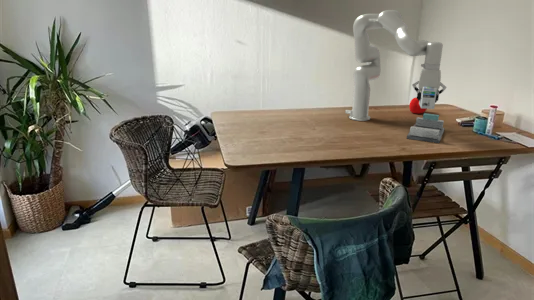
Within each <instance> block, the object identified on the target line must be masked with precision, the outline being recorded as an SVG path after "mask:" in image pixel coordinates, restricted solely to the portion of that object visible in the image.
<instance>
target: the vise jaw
mask: <svg viewBox="0 0 534 300" xmlns="http://www.w3.org/2000/svg"><path fill="white" fill-rule="evenodd" d="M422 114H423V116H422V117H419V116H416V119H415V124H416V125H417V126H424V127H432V128H439V129H442V128H444V121H445V120H442V119H440V115H439V114H432V113H426V112H423V113H422Z"/></svg>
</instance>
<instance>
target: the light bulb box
mask: <svg viewBox="0 0 534 300" xmlns="http://www.w3.org/2000/svg"><path fill="white" fill-rule="evenodd" d="M420 92H421V95H420V100H419V105H420V107H421V108H425V109H427V110H428V109H429V110H434V109H435V106H436V103H435V100H436V93H437V88H431V87H423V89H422V90H421V91H420Z"/></svg>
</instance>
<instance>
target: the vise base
mask: <svg viewBox="0 0 534 300" xmlns="http://www.w3.org/2000/svg"><path fill="white" fill-rule="evenodd" d="M444 132H445V127H443V128H442V129H439V128H432V127H424V126H417V125H416V123H415V124H413V125H412V126H410V129H409V132H408V134H406V139H409V140H414V141H421V142H426V141H427V142H428V143H433V142H434V143H436V144H440V143H441V140H442V138H443V134H444Z"/></svg>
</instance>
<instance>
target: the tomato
mask: <svg viewBox="0 0 534 300" xmlns="http://www.w3.org/2000/svg"><path fill="white" fill-rule="evenodd" d="M408 107H409V111H410V112H411V113H412V114H417V115H419V114H424V113H426V111H427V110H428V109H425V108H421V107H420V105H419V101H418V99H417V97H413V98H411V100H410V101H409V106H408Z"/></svg>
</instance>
